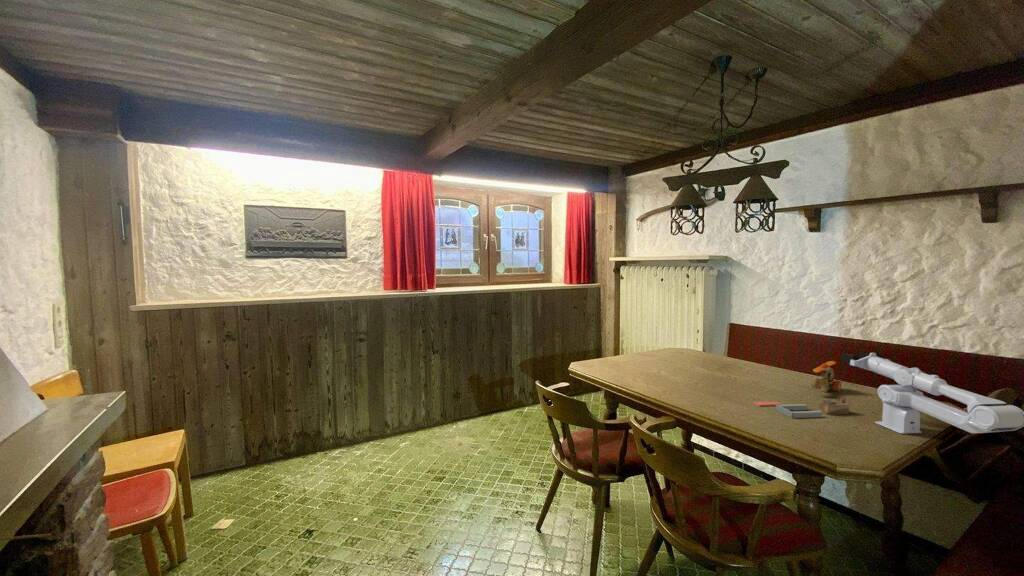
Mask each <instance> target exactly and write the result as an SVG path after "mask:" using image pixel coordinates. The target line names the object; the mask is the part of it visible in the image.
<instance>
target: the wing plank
mask: <svg viewBox="0 0 1024 576" xmlns="http://www.w3.org/2000/svg"><path fill="white" fill-rule="evenodd" d="M753 403H754V404H753V405H755V404H756V405H755V406H757V407H759V406H763V407H776V405H783V404H782V403H781V402H778V401H777V400H774V401H753Z"/></svg>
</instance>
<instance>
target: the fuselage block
mask: <svg viewBox="0 0 1024 576" xmlns="http://www.w3.org/2000/svg"><path fill="white" fill-rule="evenodd" d="M849 410H850V404H849V403H847V402H846V398H840V400H823V401H819V402H818V411H821V412H823V413H822V414H824V413H825V415H826V416H827V415H828V416H829V415H832V414H833V415H849V413H850V411H849Z"/></svg>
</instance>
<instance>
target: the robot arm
mask: <svg viewBox="0 0 1024 576" xmlns="http://www.w3.org/2000/svg"><path fill="white" fill-rule="evenodd" d="M840 359H841V360H843V361H844V362H846V363H847V364H848V366H849V367H850V368H851V369H857V367H858V368H860V369H864V370H866V371H870V372H874V373H875V374H878V375H881V376H884V377H886V378H889V379H890V380H891V379H892V380H894V381H895V382H896V383H897V384H881V385H880V386H879V387H878V388H877V395H878V397H879V399H880V400H881V402H882V414H881V420H879V421H878V420H877V421H874V423H875V424H877V425H880V427H885V428H886V429H889V430H891V431H893V432H896V433H898V434H922V431H921V428H920V427H921V413H924V414H926V415H929V416H931V417H932V418H935V419H938V420H939V421H942V422H945V423H947V424H950V425H952V426H953V427H956V428H958V429H961V430H963V431H965V432H968V433H969V434H988V433H1000V432H1013V431H1016V430H1019V429H1021V428H1023V427H1024V410H1023V409H1021V408H1019V406H1016V405H1012V404H1007V402H1005V401H1003V400H1000V399H996V398H992V397H989V396H985V395H981V394H978V393H975V392H972V391H969V390H967V389H966V390H965V389H962V388H959V387H957V386H956V387H955V386H952V385H950V384H948V383H947V381H946V379H942V378H940V377H939V375H936V374H927V373H926V372H923V371H922V370H920V368H919V367H911V368H909V367H908V366H904V365H902V364H900V363H896V362H893V361H891V359H888V358H883V354H882V353H876V352H870V353H866V352H865V353H864V352H859V354H851V353H845V352H844V353H841V354H840ZM922 391H923V392H926V393H928V394H931V395H933V396H942V395H943V396H945V397H947V398H950V399H953V400H955V401H957V402H960V403H962V404H964V405H966V406H967V412H966V411H963V410H961V409H960V408H956V407H954V406H952V405H949V404H946V403H943V402H941V401H938V400H937V399H936V400H935V399H933V398H931V397H928V396H926V395H924V393H923V392H922ZM920 412H921V413H920Z"/></svg>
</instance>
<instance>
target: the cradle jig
mask: <svg viewBox="0 0 1024 576" xmlns="http://www.w3.org/2000/svg"><path fill="white" fill-rule="evenodd" d="M775 410H776V411H778V412H779V413H781V414H783V415H785V416H787V417H788V416H789V417H788V418H790V417H791V419H803V418H804V419H806V418H807V419H808V418H822V417H823V413H822V412H821V411H819V410H808V405H807V404H805V403H802V404H801V403H800V404H799V403H797V404H795V403H794V404H782V405H776V406H775ZM790 410H793V411H790ZM807 410H808V411H807Z"/></svg>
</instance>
